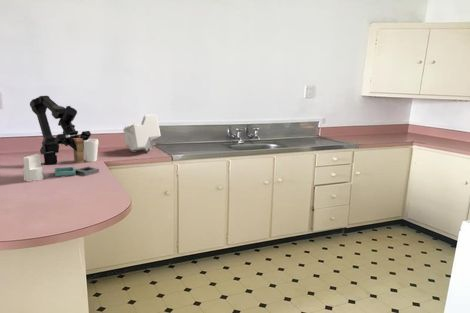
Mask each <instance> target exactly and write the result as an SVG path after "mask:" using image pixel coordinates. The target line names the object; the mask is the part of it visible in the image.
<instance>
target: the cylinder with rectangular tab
mask: <svg viewBox="0 0 470 313" xmlns="http://www.w3.org/2000/svg"><path fill="white" fill-rule="evenodd" d="M41 161H42V160H41V153H40V154H37V153H34V154H32V155H28V156H24V157H23V167H22V173H23V180H24V179H25V180H38V181H41V180H40V179H42V180H43V179H44V167H43V166H42V163H41ZM25 180H24V181H25Z"/></svg>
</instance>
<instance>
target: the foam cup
mask: <svg viewBox="0 0 470 313" xmlns="http://www.w3.org/2000/svg"><path fill="white" fill-rule="evenodd" d="M98 148H99V139H98V138H89V139H88V140H86V141H84V149H83V151H84V160H85V162H88V163H92V162H96V161H97V160H98Z"/></svg>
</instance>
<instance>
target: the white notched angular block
mask: <svg viewBox="0 0 470 313" xmlns="http://www.w3.org/2000/svg"><path fill="white" fill-rule="evenodd" d="M157 114H158V113H152V114H144V116H143V117H142V121H141V123H140V124H137V123H129V124H128V125H126V126H125V127H124V128H123V129H122V130H123V135H124V141H125V142H124V143H125V146H126V148H128V149H129V151H131V152H132V153H136V152H137V151H145V152H146V153H148V152H150V150H152V148H153V147H154V146H155V145H156V143H155V142H154V141H153V140H155V139H158V138H159V137H161V136H162V134H161V130H160V124H159V118H158V115H157Z"/></svg>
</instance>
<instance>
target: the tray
mask: <svg viewBox="0 0 470 313" xmlns="http://www.w3.org/2000/svg"><path fill="white" fill-rule="evenodd" d="M75 169H76V168H75V166H67V167H55V168H54V177H55V178H61V176H65V177H75V176H74V175H76V171H75Z"/></svg>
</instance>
